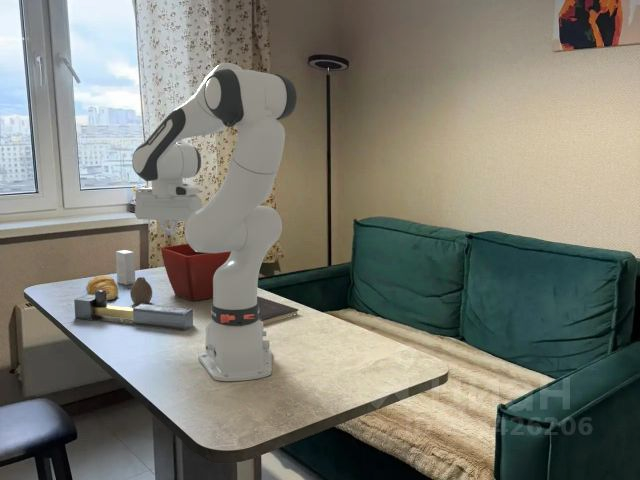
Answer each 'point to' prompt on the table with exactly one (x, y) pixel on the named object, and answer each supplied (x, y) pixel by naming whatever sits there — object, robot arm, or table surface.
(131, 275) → the skincare box
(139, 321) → the guide
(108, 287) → the croissant
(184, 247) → the plant pot
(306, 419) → the table surface
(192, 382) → the table surface
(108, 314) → the sliding bolt
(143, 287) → the vase
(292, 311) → the hardcover book
